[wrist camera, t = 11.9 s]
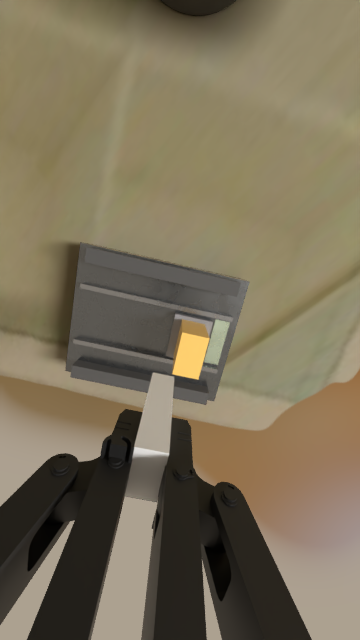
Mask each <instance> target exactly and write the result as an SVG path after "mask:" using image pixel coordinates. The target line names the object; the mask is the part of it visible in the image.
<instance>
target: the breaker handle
mask: <svg viewBox="0 0 360 640" xmlns="http://www.w3.org/2000/svg"><path fill="white" fill-rule="evenodd" d="M212 324H213V321H212V320H209V319H204V318H200V317H195V316H191V315H186V314H182V313H177V312H176V313H175V317H174V321H173V326H172V330H171V335H170V339H169V343H168V348H167V352H166V356H168V357H172V358H174V359H173V371H172V374H174V375H178V376H183V377H188V378H193V379H197V380H198V379H199V376H200V372H201V368H202V365H203V361H204V357H205V354H206V350H207V346H208V343H209V339H210V338H209V335H210V332H211V328H212Z"/></svg>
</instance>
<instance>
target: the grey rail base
mask: <svg viewBox="0 0 360 640" xmlns="http://www.w3.org/2000/svg"><path fill="white" fill-rule="evenodd" d="M86 247H91V248H96V249H100V250H104V251H109V252H113V253H117V254H122V255H126V256H130V257H135V258H139V259H143V260H147V261H152V262H156V263H160V264H165V265H169V266H173V267H178V268H182V269H186V270H191V271H195V272H199V273H203V274H208V275H212V276H216V277H221V278H225V279H229V280H234V281H238V282H240V283H241V285H240V288H239V292H238V295H237V297H234V296H230V295H226V294H221V293H217V292H213V291H208V290H204V289H199V288H195V287H191V286H186V285H182V284H178V283H173V282H169V281H164V280H160V279H156V278H151V277H147V276H143V275H138V274H134V273H129V272H125V271H121V270H116V269H112V268H108V267H103V266H99V265H95V264H90V263H86V262H85V255H86ZM248 285H249V281H246V280H243V279H239V278H235V277H231V276H226V275H222V274H218V273H213V272H209V271H205V270H201V269H196V268H192V267H188V266H183V265H179V264H175V263H171V262H166V261H162V260H158V259H153V258H149V257H145V256H140V255H136V254H132V253H128V252H123V251H119V250H115V249H110V248H106V247H102V246H98V245H93V244H87V243H81V242H80V250H79V259H78V267H77V276H76V284H75V293H74V302H73V310H72V319H71V328H70V336H69V345H68V353H67V362H66V371H69V372H71V369H72V365H73V364H74V363H75V362H76V361H77V360H81V361H86V362H91V363H95V364H100V365H105V366H110V367H115V368H120V369H124V370H129V371H134V372H139V373H144V374H148V375H152V374H153V372H154V373H159V374H163V375H168V376H173V377H174V380H177V381H182V382H187V383H192V384H196V385H201V386H206V387H208V391H209V395H208V399H207V400H210V401H214V399H215V396H216V393H217V389H218V386H219V383H220V379H221V376H222V373H223V369H224V366H225V362H226V359H227V356H228V352H229V349H230V346H231V342H232V339H233V336H234V332H235V329H236V326H237V322H238V319H239V315H240V312H241V309H242V305H243V302H244V299H245V295H246V292H247V289H248ZM176 312H177V313H182V314H186V315H191V316H195V317H200V318H204V319H209V320H212V321H213V324H212V328H211V332H210V335H209V338H210V339H209V343H208V346H207V350H206V354H205V357H204V361H203V365H202V368H201V372H200V376H199V379H198V380H197V379H193V378H188V377H183V376H178V375H174V374H172V371H173V359H174V358H172V357H168V356H166V352H167V348H168V343H169V339H170V335H171V330H172V326H173V321H174V317H175V313H176Z"/></svg>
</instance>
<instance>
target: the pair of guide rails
mask: <svg viewBox="0 0 360 640" xmlns="http://www.w3.org/2000/svg"><path fill="white" fill-rule="evenodd" d="M85 262H86V263H90V264H95V265H99V266H103V267H108V268H112V269H116V270H121V271H125V272H129V273H134V274H138V275H143V276H147V277H151V278H156V279H160V280H164V281H169V282H173V283H178V284H182V285H186V286H191V287H195V288H199V289H204V290H208V291H213V292H217V293H221V294H226V295H230V296H234V297H237V295H238V292H239V288H240V285H241V283H240V282H238V281H234V280H229V279H225V278H221V277H216V276H212V275H208V274H203V273H199V272H195V271H191V270H186V269H182V268H178V267H173V266H169V265H165V264H160V263H156V262H152V261H147V260H143V259H139V258H135V257H130V256H126V255H122V254H117V253H113V252H109V251H104V250H100V249H96V248H91V247H86V255H85ZM71 377H72V378H77V379H82V380H87V381H92V382H97V383H102V384H106V385H111V386H116V387H121V388H126V389H131V390H136V391H141V392H146V393H148V390H149V386H150V382H151V378H152V375H148V374H144V373H139V372H134V371H129V370H124V369H120V368H115V367H110V366H105V365H100V364H95V363H91V362H86V361H81V360H77V361H76V362H75V363H74V364H73V365H72V369H71ZM208 395H209V391H208V387H206V386H201V385H196V384H192V383H187V382H182V381H177V380H174V390H173V398H175V399H180V400H185V401H190V402H195V403H200V404H204V405H206V402H207V399H208Z"/></svg>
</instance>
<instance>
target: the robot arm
mask: <svg viewBox="0 0 360 640" xmlns="http://www.w3.org/2000/svg"><path fill="white" fill-rule="evenodd" d="M161 1H162V2H164V3H165V4H166V5H168V6H169V7H171V8H173V9H175V10H177V11H179V12H182V13H185V14H190V15H207V14H212V13H215V12H218V11H220V10H222V9H224V8H226V7H228V6H229V5H231V4H232V3H234V2H235V1H236V0H161ZM173 390H174V377H173V376H168V375H163V374H159V373H154V372H153V374H152V378H151V382H150V386H149V390H148V394H147V398H146V402H145V405H144V409H143V412H138V411H133V410H128V409H125V410H124V411H123V412H122V413H121V414H120V415H119V418H118V420H117V423H116V425H115V428H114V431H113V433H112V435H110V436H108V437H107V438H106V439H105V440H104V441H103V444H102V450H101V456H100V457H98V458H96V459H94V460H91V461H84V462H78V460H77V458H76V457H75V456H73V455H71V454H66V453H65V454H58V455H55V456H53V457H51V458H50V459H48V460H47V461H46V462H45V463H44V464H43V465H42V466H41V467H40V468H39V469H38V470H37V471H36V472H35V473H34V474H33V475H32V476H31V477H30V478H29V479H28V480H27V481H26V482H25V483H24V484H23V485H22V486H21V487H20V488H19V489H18V490H17V491H16V492H15V493H14V494H13V495H12V496H11V497H10V498H9V499H8V500H7V501H6V502H5V503H4V504H3V505H2V506H1V507H0V625H1V623H2V622H3V620H4V619H5V617H6V616H7V614H8V613H9V611H10V610H11V608H12V607H13V605H14V604H15V602H16V601H17V599H18V598H19V596H20V595H21V594H22V592H23V590H24V589H25V587H26V586H27V585H28V583H29V582H30V580H31V579H32V577H33V576H34V574H35V573H36V571H37V570H38V568H39V567H40V565H41V564H42V562H43V561H44V559H45V558H46V556H47V555H48V553H49V552H50V551H51V549H52V548H53V546H54V545H55V543H56V542H57V540H58V539H59V537H60V536H61V534H62V533H63V531H64V530H65V528H66V527H67V525H68V524H69V522H70V521H73V520H75V522H74V524H73V527H72V529H71V532H70V534H69V537H68V539H67V542H66V544H65V547H64V549H63V552H62V554H61V557H60V559H59V562H58V564H57V566H56V569H55V571H54V574H53V576H52V579H51V581H50V584H49V586H48V589H47V591H46V594H45V596H44V599H43V601H42V604H41V606H40V609H39V611H38V614H37V616H36V619H35V621H34V624H33V626H32V629H31V631H30V633H29V636H28V639H27V640H91V636H92V632H93V628H94V623H95V620H96V615H97V611H98V607H99V602H100V598H101V594H102V590H103V586H104V581H105V577H106V573H107V569H108V565H109V561H110V556H111V552H112V548H113V543H114V539H115V535H116V531H117V527H118V523H119V518H120V514H121V509H122V505H123V500H124V496H126V497H131V498H136V499H142V500H147V501H153V502H157V500H158V504H157V509H156V513H155V517H154V521H153V525H152V529H153V537H152V546H151V556H150V565H149V574H148V583H147V592H146V602H145V611H144V620H143V629H142V638H141V640H207V639H206V622H205V605H204V589H203V574H202V573H203V572H202V560H203V564H204V568H205V572H206V576H207V580H208V584H209V588H210V592H211V596H212V600H213V604H214V608H215V612H216V616H217V620H218V624H219V629H220V632H221V637H222V640H312V639H311V637H310V635H309V633H308V631H307V629H306V627H305V624H304V622H303V620H302V618H301V616H300V614H299V612H298V610H297V608H296V605H295V603H294V601H293V599H292V597H291V595H290V593H289V591H288V589H287V586H286V585H285V582H284V580H283V578H282V576H281V574H280V572H279V570H278V568H277V565H276V563H275V561H274V559H273V557H272V555H271V553H270V551H269V548H268V546H267V544H266V542H265V540H264V538H263V536H262V534H261V532H260V530H259V528H258V525H257V523H256V521H255V519H254V517H253V515H252V513H251V511H250V508H249V506H248V504H247V502H246V500H245V498H244V496H243V494H242V493H241V491H240V490H239V489H238V488H237V487H236V486H234V485H233V484H230V483H228V482H220V483H218V484H217V485H216V486H215V487H214V486H212V485H210V484H208V483H207V482H205V481H203V480H202V479H201V478H200V477H199V476H198V475H197V474H196V472H195V469H194V468H193V460H192V442H191V441H192V440H191V427H190V425H189V423H188V421H187V420H183V419H177V418H172V405H173Z"/></svg>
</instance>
